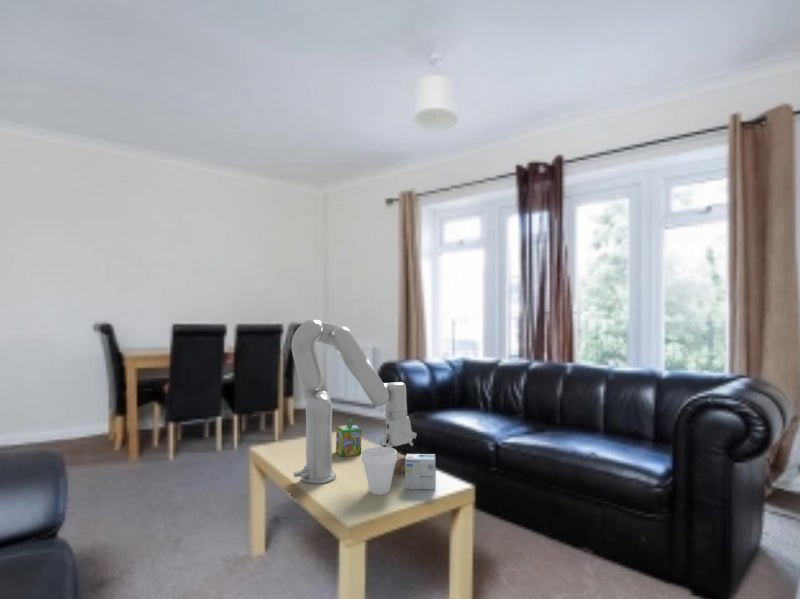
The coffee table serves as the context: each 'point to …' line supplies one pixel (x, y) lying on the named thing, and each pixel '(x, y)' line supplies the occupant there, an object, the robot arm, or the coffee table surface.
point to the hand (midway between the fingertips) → (399, 458)
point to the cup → (379, 468)
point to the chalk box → (348, 440)
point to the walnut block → (399, 465)
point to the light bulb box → (420, 471)
